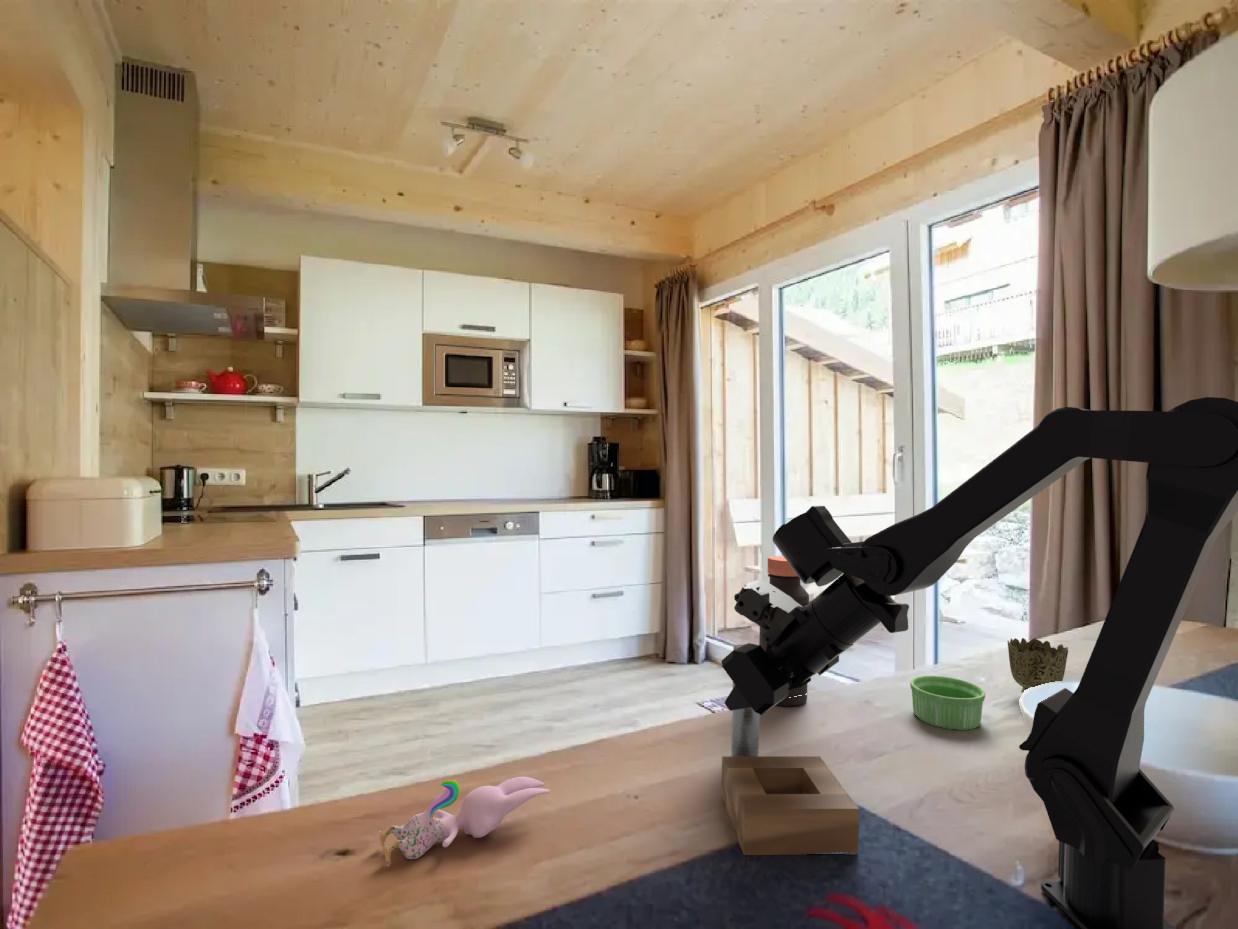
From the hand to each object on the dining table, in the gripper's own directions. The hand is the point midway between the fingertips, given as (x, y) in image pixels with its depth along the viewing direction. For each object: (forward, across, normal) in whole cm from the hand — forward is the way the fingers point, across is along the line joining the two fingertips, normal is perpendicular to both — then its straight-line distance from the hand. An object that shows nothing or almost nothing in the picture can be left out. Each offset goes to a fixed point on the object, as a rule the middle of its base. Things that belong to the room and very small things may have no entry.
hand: (734, 702), depth 75 cm
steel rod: (+4, 0, +6) cm, 7 cm away
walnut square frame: (-2, +9, +12) cm, 15 cm away
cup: (-13, -46, +22) cm, 52 cm away
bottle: (+8, -22, +2) cm, 23 cm away
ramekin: (-6, -29, +16) cm, 34 cm away
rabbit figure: (+13, +29, -3) cm, 32 cm away
